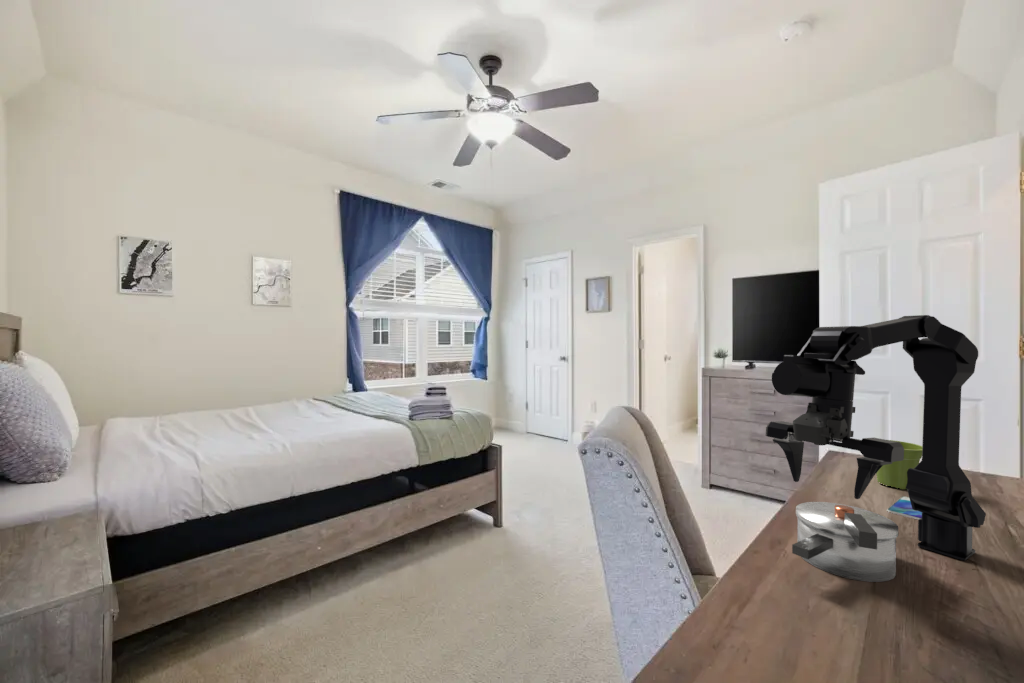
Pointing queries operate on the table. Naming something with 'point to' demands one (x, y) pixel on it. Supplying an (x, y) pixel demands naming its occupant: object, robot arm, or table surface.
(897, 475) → the plant pot
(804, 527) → the pressure cooker pot
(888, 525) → the cooker lid
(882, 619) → the table surface
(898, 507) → the smartphone
